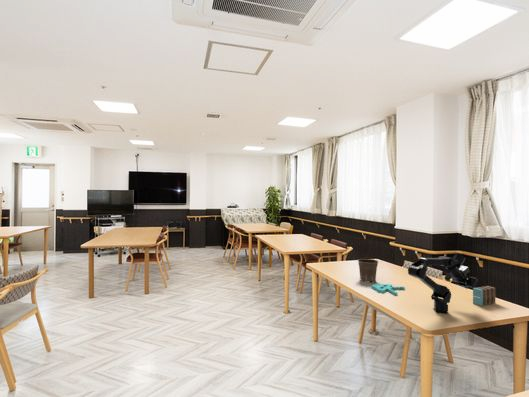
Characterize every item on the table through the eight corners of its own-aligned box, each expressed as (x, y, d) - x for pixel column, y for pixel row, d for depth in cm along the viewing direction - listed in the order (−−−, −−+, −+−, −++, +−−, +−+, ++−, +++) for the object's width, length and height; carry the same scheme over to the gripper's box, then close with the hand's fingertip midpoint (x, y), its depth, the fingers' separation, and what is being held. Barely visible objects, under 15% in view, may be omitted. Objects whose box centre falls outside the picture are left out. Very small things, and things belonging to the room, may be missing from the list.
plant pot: (378, 283, 249) (378, 263, 249) (357, 281, 255) (357, 261, 255) (378, 278, 265) (378, 259, 265) (358, 277, 270) (358, 258, 270)
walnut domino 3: (493, 303, 202) (493, 288, 202) (485, 301, 207) (485, 286, 207) (495, 303, 203) (495, 287, 203) (487, 300, 207) (487, 285, 207)
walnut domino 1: (485, 305, 199) (485, 289, 199) (477, 302, 204) (477, 287, 204) (487, 304, 200) (487, 289, 200) (479, 302, 204) (479, 287, 204)
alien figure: (404, 289, 234) (377, 285, 247) (404, 286, 234) (377, 282, 247) (396, 296, 219) (368, 290, 231) (396, 293, 219) (368, 287, 231)
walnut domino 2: (489, 304, 201) (489, 288, 201) (481, 302, 205) (481, 286, 205) (491, 304, 201) (491, 288, 201) (483, 301, 206) (483, 286, 206)
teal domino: (480, 306, 198) (480, 290, 198) (472, 303, 202) (473, 288, 202) (482, 305, 198) (483, 289, 198) (475, 303, 203) (475, 287, 203)
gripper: (476, 265, 186) (488, 281, 190) (447, 259, 203) (459, 274, 207) (467, 279, 183) (479, 296, 187) (438, 272, 200) (451, 288, 205)
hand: (467, 288), depth 197 cm, fingers closed
